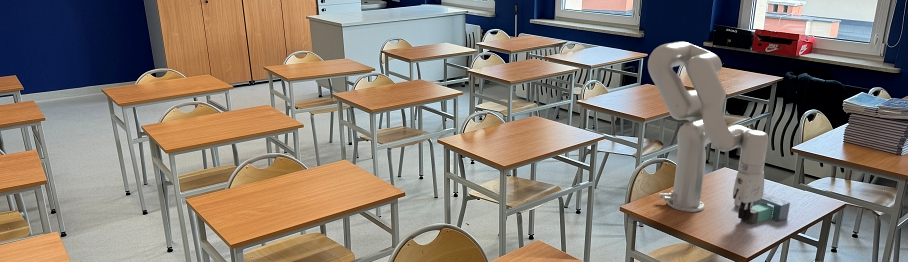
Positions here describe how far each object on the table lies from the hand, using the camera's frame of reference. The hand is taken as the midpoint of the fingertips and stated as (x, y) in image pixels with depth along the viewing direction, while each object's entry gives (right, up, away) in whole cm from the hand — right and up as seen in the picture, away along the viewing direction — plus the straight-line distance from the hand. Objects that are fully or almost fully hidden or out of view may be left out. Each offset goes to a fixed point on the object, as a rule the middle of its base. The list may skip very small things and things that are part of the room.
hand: (743, 218), depth 219 cm
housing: (+11, +1, +10) cm, 15 cm away
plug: (+6, -1, +4) cm, 8 cm away
